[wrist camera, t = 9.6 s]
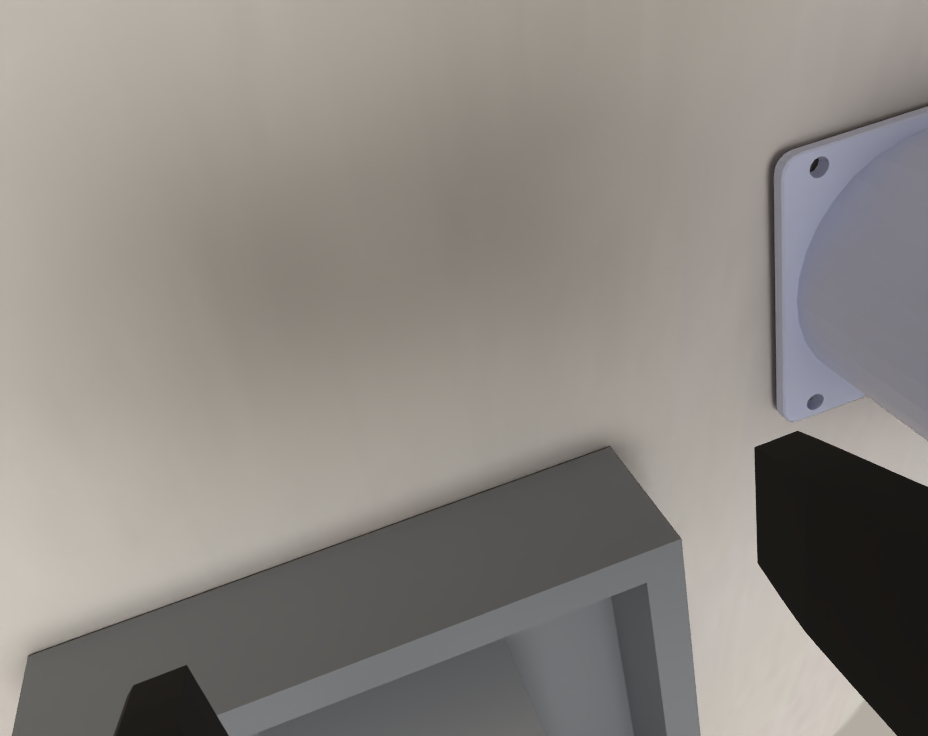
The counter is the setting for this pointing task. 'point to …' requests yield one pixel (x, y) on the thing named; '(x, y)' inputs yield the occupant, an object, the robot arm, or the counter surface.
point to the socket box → (424, 628)
